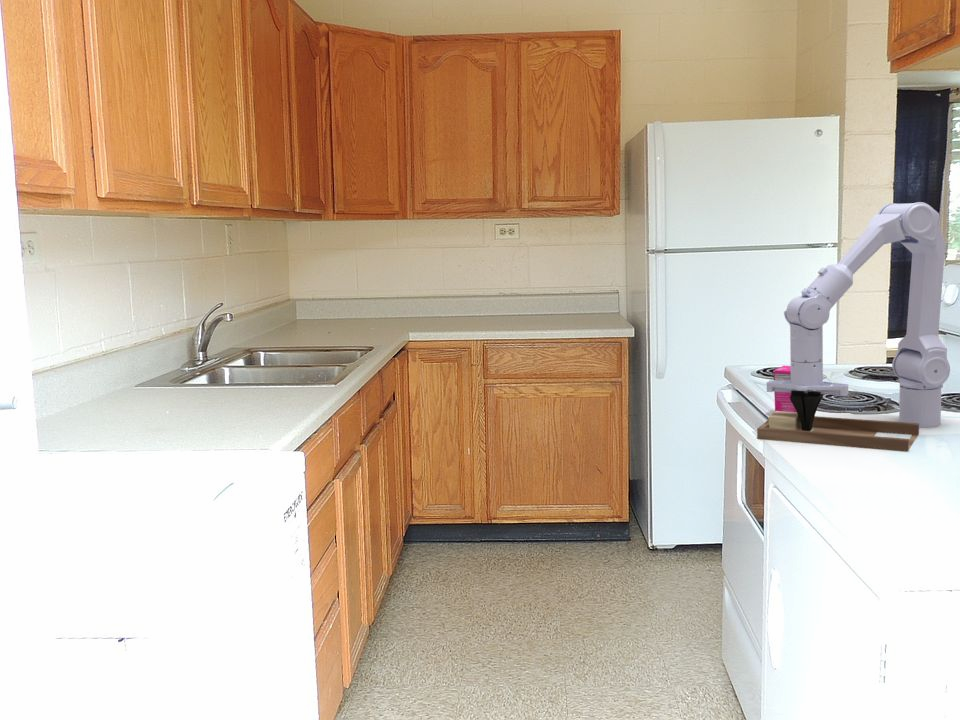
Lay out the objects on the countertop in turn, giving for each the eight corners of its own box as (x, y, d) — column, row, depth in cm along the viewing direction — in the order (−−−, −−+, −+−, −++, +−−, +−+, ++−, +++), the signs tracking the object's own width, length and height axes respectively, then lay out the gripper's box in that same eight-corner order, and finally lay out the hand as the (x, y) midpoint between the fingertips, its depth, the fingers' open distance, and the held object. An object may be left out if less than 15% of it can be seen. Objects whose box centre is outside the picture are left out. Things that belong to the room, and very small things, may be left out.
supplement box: (783, 417, 190) (783, 364, 188) (811, 420, 186) (811, 366, 184) (773, 423, 186) (773, 369, 184) (802, 426, 182) (801, 371, 180)
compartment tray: (776, 430, 179) (776, 413, 179) (918, 441, 165) (919, 423, 164) (757, 446, 169) (757, 428, 168) (907, 459, 154) (907, 440, 154)
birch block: (776, 428, 175) (775, 410, 175) (802, 430, 173) (802, 412, 172) (768, 434, 171) (768, 416, 171) (795, 436, 168) (795, 418, 168)
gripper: (761, 362, 168) (762, 432, 170) (842, 365, 160) (842, 438, 162) (772, 356, 174) (772, 423, 176) (850, 358, 166) (850, 429, 168)
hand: (806, 430), depth 170 cm, fingers closed
